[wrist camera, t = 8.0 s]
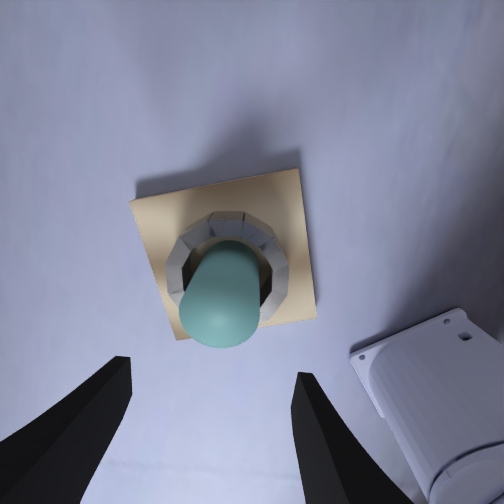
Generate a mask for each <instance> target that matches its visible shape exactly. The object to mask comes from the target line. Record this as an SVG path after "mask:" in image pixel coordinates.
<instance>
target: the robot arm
mask: <svg viewBox="0 0 504 504" xmlns="http://www.w3.org/2000/svg"><path fill="white" fill-rule="evenodd" d="M445 319H446V320H445ZM444 320H445V321H444ZM360 355H363V356H361V357H359V356H360ZM349 360H350V362H351V364H352V365H353V367H354V369H355V371H356V373H357V374H358V376H359V378H360V380H361V382H362V383H363V385H364V387H365V389H366V391H367V392H368V394H369V396H370V398H371V400H372V402H373V403H374V405H375V407H376V409H377V411H378V412H379V414H380V416H381V417H382V418H386V420H387V422H388V424H389V426H390V428H391V430H392V432H393V434H394V436H395V438H396V440H397V442H398V444H399V446H400V448H401V449H402V451H403V453H404V455H405V457H406V459H407V461H408V463H409V465H410V467H411V469H412V471H413V473H414V475H415V477H416V479H417V481H418V483H419V485H420V487H421V489H422V491H423V493H424V495H425V497H426V499H427V501H428V503H429V504H504V346H503V345H501V344H500V343H499V342H498V341H496V340H495V339H494V338H492V337H491V336H490V335H488V334H487V333H486V332H484V331H483V330H482V329H480V328H479V327H478V326H477V325H475V324H474V323H473V322H471V321H470V320H469V319H468V318H467V315H466V312H465V311H464V310H462V309H461V308H455V309H453V310H450V311H448V312H446V313H444V314H441V315H439V316H437V317H434V318H432V319H430V320H427V321H425V322H423V323H420V324H418V325H416V326H413V327H411V328H409V329H406V330H404V331H402V332H399V333H397V334H395V335H393V336H390V337H388V338H386V339H383V340H381V341H379V342H376V343H374V344H372V345H369V346H367V347H365V348H362V349H360V350H358V351H355V352H353V353H351V354H350V355H349ZM131 396H132V379H131V361H130V357H123V356H115V357H114V358H113V359H111V360H110V361H109V362H108V363H106V364H105V365H104V366H103V367H102V368H100V369H99V370H98V371H97V372H96V373H94V374H93V375H92V376H91V377H89V378H88V379H87V380H86V381H85V382H83V383H82V384H81V385H80V386H78V387H77V388H76V389H75V390H73V391H72V392H71V393H70V394H68V395H67V396H66V397H64V398H63V399H62V400H60V401H59V402H58V403H56V404H55V405H54V406H52V407H51V408H50V409H48V410H47V411H46V412H44V413H43V414H41V415H40V416H39V417H37V418H36V419H34V420H33V421H32V422H30V423H29V424H27V425H26V426H24V427H23V428H21V429H20V430H18V431H16V432H15V433H13V434H12V435H10V436H9V437H7V438H6V439H4V440H2V441H1V442H0V504H80V502H81V499H82V497H83V495H84V493H85V491H86V489H87V487H88V484H89V482H90V480H91V479H92V477H93V475H94V473H95V471H96V469H97V467H98V465H99V463H100V461H101V460H102V458H103V456H104V454H105V452H106V450H107V448H108V446H109V444H110V442H111V441H112V439H113V437H114V435H115V433H116V431H117V429H118V427H119V425H120V423H121V421H122V419H123V417H124V414H125V412H126V409H127V407H128V404H129V401H130V399H131ZM291 417H292V429H293V437H294V442H295V448H296V453H297V458H298V464H299V469H300V474H301V479H302V485H303V490H304V495H305V501H306V504H414V503H413V502H412V501H411V500H410V499H409V498H408V497H407V496H406V495H405V494H404V493H403V492H402V491H401V490H400V489H399V488H398V487H397V486H396V485H395V483H394V482H393V481H392V480H391V479H390V478H389V477H388V476H387V475H386V474H385V473H384V472H383V470H382V469H381V468H380V467H379V466H378V465H377V464H376V462H375V461H374V460H373V459H372V458H371V457H370V455H369V454H368V453H367V452H366V450H365V449H364V448H363V447H362V445H361V444H360V443H359V442H358V440H357V439H356V438H355V436H354V435H353V434H352V432H351V431H350V430H349V428H348V427H347V426H346V424H345V423H344V421H343V420H342V418H341V417H340V416H339V414H338V413H337V411H336V410H335V408H334V407H333V405H332V404H331V402H330V401H329V399H328V398H327V396H326V394H325V393H324V391H323V390H322V388H321V386H320V385H319V383H318V381H317V380H316V378H315V376H314V375H313V374H312V373H305V372H298V375H297V380H296V384H295V389H294V394H293V399H292V404H291Z"/></svg>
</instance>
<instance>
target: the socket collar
mask: <svg viewBox="0 0 504 504" xmlns="http://www.w3.org/2000/svg"><path fill="white" fill-rule="evenodd" d="M212 237H240V238H242V239H243V240H245V241H247V242H249V243H251V244H252V245H254V246H256V247H258V248H260V249H261V250H262V252H263V254H264V255H265V257H266V259H267V260H268V262H269V264H270V274H269V276H268V277H267V279H266V280H265V282H264V283H263V285H262V286H261V288H260V289H259V290H260V320H259V324H261V323H263V322H265V321H267V320H269V319H270V318H272V316H273V315H274V314H275V312H276V311H277V309H278V308H279V307H280V305H281V304H282V302H283V301H284V300H285V298H286V297H287V294H288V282H289V263H288V260H287V257H286V254H285V251H284V249H283V247H282V245H281V244H280V242H279V240H278V238H277V236H276V235H275V233H274V231H273V229H272V228H271V227H270V226H269V225H267V224H266V223H264V222H262V221H261V220H259V219H257V218H255V217H254V216H252V215H250V214H248V213H247V212H245V213H244V211H214V212H212V213H210V214H208V215H206V216H205V217H203V218H201V219H199V220H198V221H196V222H194V223H193V224H191V225H189V226H188V227H187V228H186V229H185V231H184V232H183V233H182V234H181V235H180V236H179V237H178V239H177V241H176V243H175V245H174V247H173V249H172V251H171V253H170V255H169V257H168V258H167V260H166V262H165V274H166V283H167V292H168V293H169V294H168V295H169V297H170V298H171V299H172V300H173V302H174V303H175V304H176V306H177V307H178V308H179V304H180V301H181V299H182V296H183V294H184V293H185V291H186V289H187V287H188V285H189V283H190V281H191V279H192V277H193V275H192V269H191V256H190V254H191V252H192V250H193V248H194V247H196V246H198V245H200V244H202V243H203V242H205V241H207V240H209V239H211V238H212ZM259 324H258V325H259Z"/></svg>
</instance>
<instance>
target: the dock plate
mask: <svg viewBox="0 0 504 504" xmlns="http://www.w3.org/2000/svg"><path fill="white" fill-rule="evenodd" d="M129 203H130V206H131V209H132V212H133V215H134V217H135V220H136V223H137V226H138V229H139V232H140V235H141V238H142V241H143V244H144V247H145V250H146V253H147V256H148V259H149V262H150V265H151V268H152V270H153V273H154V276H155V279H156V282H157V285H158V288H159V291H160V294H161V297H162V300H163V303H164V306H165V309H166V312H167V315H168V318H169V320H170V323H171V326H172V329H173V332H174V335H175V338H176V341H177V340H183V339H189V338H192V337H191V336H189V334H188V333H187V332H186V331H185V329H184V328H183V326H182V324H181V321H180V318H179V308H178V307H177V306H176V304H175V303H174V302H173V300H172V299H171V298H170V297H169V295H168V294H169V293H168V292H167V283H166V274H165V262H166V260H167V258H168V257H169V255H170V253H171V251H172V249H173V247H174V245H175V243H176V241H177V239H178V237H179V236H180V235H181V234H182V233H183V232H184V231H185V229H186V228H187V227H188V226H189V225H191V224H193V223H194V222H196V221H198V220H199V219H201V218H203V217H205V216H206V215H208V214H210V213H212V212H214V211H244V213H245V212H247V213H248V214H250V215H252V216H254V217H255V218H257V219H259V220H261V221H262V222H264V223H266V224H267V225H269V226H270V227H271V228H272V229H273V231H274V233H275V235H276V236H277V238H278V240H279V242H280V244H281V245H282V247H283V249H284V251H285V254H286V257H287V260H288V263H289V282H288V294H287V297H286V298H285V300H284V301H283V302H282V304H281V305H280V307H279V308H278V309H277V311H276V312H275V314H274V315H273V316H272V318H270V319H269V320H267V321H265V322H263V323H261V324H259V325H258V327H257V328H259V327H265V326H272V325H278V324H284V323H291V322H297V321H303V320H310V319H316V318H317V313H316V305H315V297H314V289H313V281H312V273H311V265H310V256H309V248H308V240H307V232H306V224H305V216H304V208H303V199H302V191H301V183H300V175H299V168H292V169H287V170H282V171H277V172H272V173H266V174H261V175H256V176H251V177H246V178H241V179H235V180H230V181H225V182H220V183H215V184H210V185H204V186H199V187H194V188H189V189H184V190H179V191H173V192H168V193H163V194H158V195H153V196H148V197H142V198H137V199H134V200H131V201H129ZM225 240H234V241H239V242H241V243H244V244H245V245H247V246H248V247H250V248H251V249H252V250H253V252H254V253H255V255H256V256H257V259H258V262H259V289H260V288H261V286H262V285H263V283H264V282H265V280H266V279H267V277H268V276H269V274H270V264H269V262H268V260H267V259H266V257H265V255H264V254H263V252H262V250H261V249H260V248H258V247H256V246H254V245H252V244H251V243H249V242H247V241H245V240H243V239H242V238H240V237H212V238H211V239H209V240H207V241H205V242H203V243H202V244H200V245H198V246H196V247H194V248H193V250H192V252H191V254H190V256H191V269H192V275H193V276H194V274H195V272H196V270H197V268H198V266H199V264H200V262H201V261H202V259H203V257H204V255H205V253H206V252H207V250H208V249H209V248H210V247H211V246H213V245H214V244H216V243H218V242H221V241H225Z"/></svg>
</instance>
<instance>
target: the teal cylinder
mask: <svg viewBox="0 0 504 504" xmlns="http://www.w3.org/2000/svg"><path fill="white" fill-rule="evenodd" d="M179 318H180V321H181V324H182V326H183V328H184V329H185V331H186V332H187V333H188V334H189V336H191V337H192V338H193V339H194V340H196V341H197V342H199V343H201V344H203V345H206V346H209V347H214V348H229V347H233V346H237V345H239V344H241V343H243V342H245V341H246V340H247V339H249V338H250V337H251V336H252V335H253V333H254V332H255V330H256V329H257V327H258V324H259V320H260V290H259V262H258V259H257V256H256V255H255V253H254V252H253V250H252V249H251V248H250V247H248V246H247V245H245V244H244V243H241V242H239V241H234V240H225V241H221V242H218V243H216V244H214V245H213V246H211V247H210V248H209V249H208V250H207V252H206V253H205V255H204V257H203V259H202V261H201V262H200V264H199V266H198V268H197V270H196V272H195V274H194V276H193V277H192V279H191V281H190V283H189V285H188V287H187V289H186V291H185V293H184V294H183V296H182V299H181V301H180V304H179Z"/></svg>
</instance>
